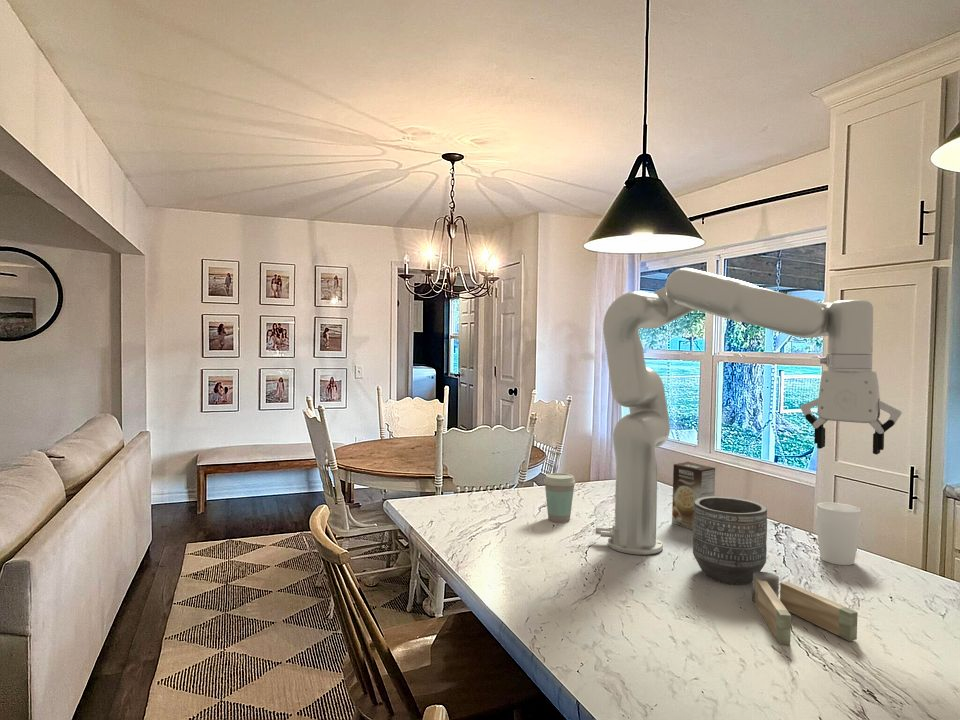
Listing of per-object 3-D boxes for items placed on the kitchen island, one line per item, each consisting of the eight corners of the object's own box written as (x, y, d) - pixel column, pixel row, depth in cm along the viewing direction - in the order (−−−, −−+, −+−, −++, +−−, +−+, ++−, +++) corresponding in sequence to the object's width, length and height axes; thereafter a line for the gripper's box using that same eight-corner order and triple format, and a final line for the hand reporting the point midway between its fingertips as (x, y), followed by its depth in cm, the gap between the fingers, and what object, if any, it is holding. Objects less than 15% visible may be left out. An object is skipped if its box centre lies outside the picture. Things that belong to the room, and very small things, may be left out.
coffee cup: (579, 518, 173) (580, 474, 172) (566, 526, 166) (567, 480, 165) (551, 513, 177) (552, 471, 177) (537, 520, 170) (538, 476, 170)
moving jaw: (849, 641, 102) (850, 613, 102) (779, 606, 115) (780, 582, 115) (856, 639, 103) (857, 612, 103) (786, 605, 116) (787, 581, 116)
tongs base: (778, 644, 102) (779, 613, 101) (749, 596, 120) (750, 570, 120) (807, 646, 101) (808, 615, 101) (774, 598, 120) (775, 572, 119)
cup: (867, 569, 136) (869, 513, 136) (821, 565, 138) (823, 511, 137) (851, 555, 145) (853, 503, 145) (808, 552, 147) (810, 500, 146)
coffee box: (670, 523, 169) (671, 463, 169) (685, 519, 173) (687, 461, 172) (699, 532, 161) (701, 469, 161) (715, 528, 165) (716, 467, 165)
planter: (760, 594, 122) (761, 517, 121) (684, 579, 129) (686, 506, 129) (770, 572, 134) (772, 502, 133) (700, 559, 141) (702, 492, 141)
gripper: (796, 362, 127) (794, 447, 127) (898, 365, 115) (896, 458, 116) (807, 362, 132) (805, 443, 133) (905, 364, 121) (903, 453, 121)
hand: (848, 450), depth 124 cm, fingers open, 9 cm apart
